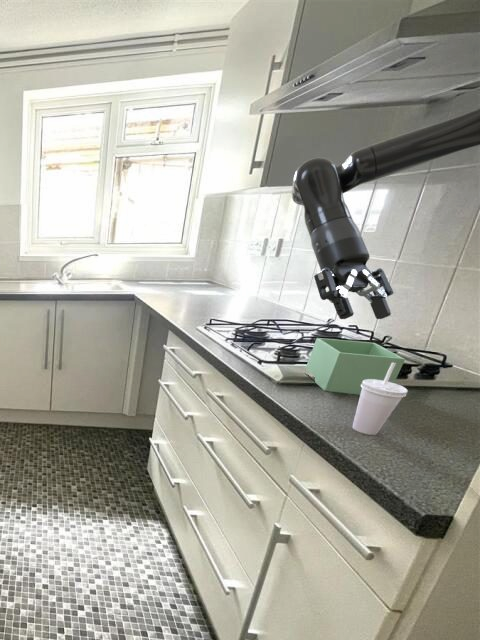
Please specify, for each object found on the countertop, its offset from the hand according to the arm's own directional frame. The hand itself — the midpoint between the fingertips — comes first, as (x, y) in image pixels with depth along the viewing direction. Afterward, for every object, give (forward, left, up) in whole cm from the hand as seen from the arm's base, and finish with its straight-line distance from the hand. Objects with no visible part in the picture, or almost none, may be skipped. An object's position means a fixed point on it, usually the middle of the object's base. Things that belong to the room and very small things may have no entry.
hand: (365, 317), depth 81 cm
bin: (-10, -18, -21) cm, 29 cm away
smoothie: (-3, +8, -21) cm, 22 cm away
